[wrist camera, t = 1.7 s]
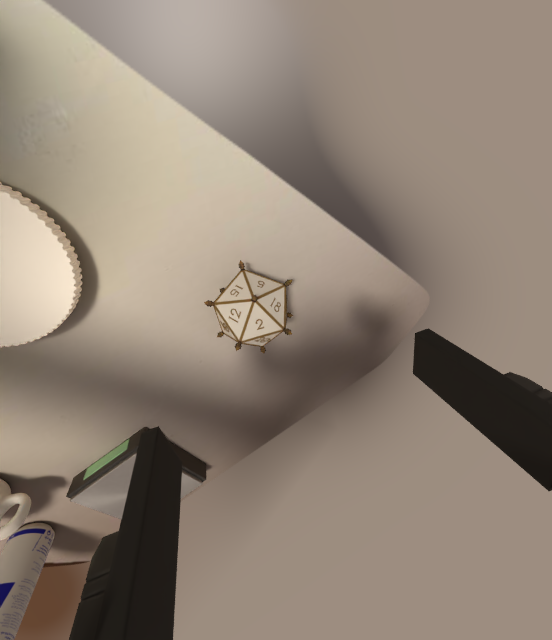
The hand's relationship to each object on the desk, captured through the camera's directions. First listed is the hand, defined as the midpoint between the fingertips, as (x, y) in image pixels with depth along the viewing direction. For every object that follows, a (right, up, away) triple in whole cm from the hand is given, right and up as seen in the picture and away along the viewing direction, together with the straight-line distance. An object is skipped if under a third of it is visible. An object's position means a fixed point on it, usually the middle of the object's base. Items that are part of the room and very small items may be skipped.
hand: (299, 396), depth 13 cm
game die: (-5, +7, +17) cm, 19 cm away
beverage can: (-35, -26, +24) cm, 50 cm away
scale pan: (-19, -19, +22) cm, 35 cm away
